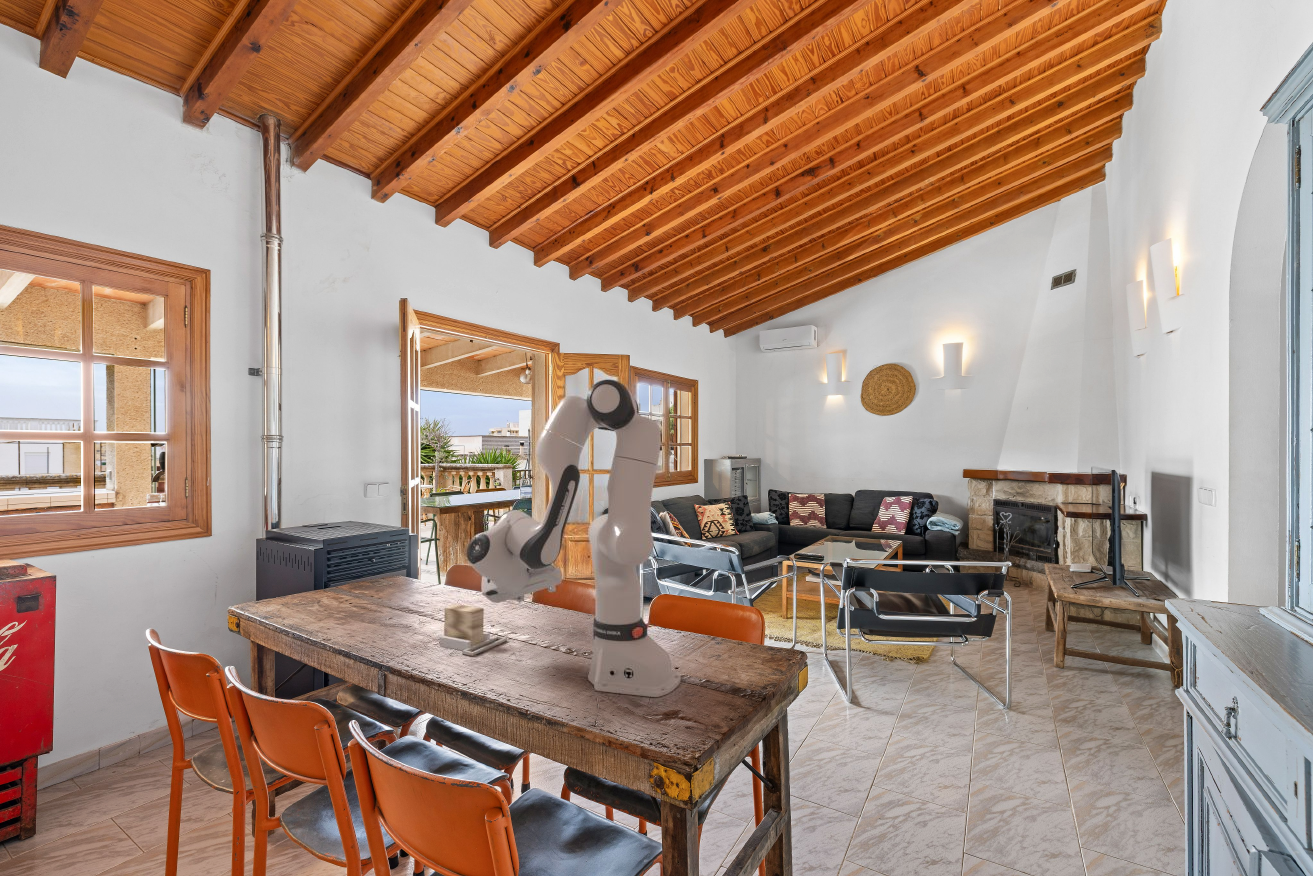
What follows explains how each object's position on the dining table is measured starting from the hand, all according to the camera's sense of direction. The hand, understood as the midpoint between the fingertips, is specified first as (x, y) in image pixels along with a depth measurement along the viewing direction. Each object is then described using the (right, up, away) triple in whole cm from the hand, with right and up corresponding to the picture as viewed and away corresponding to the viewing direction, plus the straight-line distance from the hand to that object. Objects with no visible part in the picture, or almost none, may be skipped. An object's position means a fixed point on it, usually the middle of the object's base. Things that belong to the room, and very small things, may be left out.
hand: (537, 594), depth 162 cm
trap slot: (-15, -15, +2) cm, 21 cm away
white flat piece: (-21, -15, +5) cm, 27 cm away
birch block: (-22, -15, +5) cm, 27 cm away
